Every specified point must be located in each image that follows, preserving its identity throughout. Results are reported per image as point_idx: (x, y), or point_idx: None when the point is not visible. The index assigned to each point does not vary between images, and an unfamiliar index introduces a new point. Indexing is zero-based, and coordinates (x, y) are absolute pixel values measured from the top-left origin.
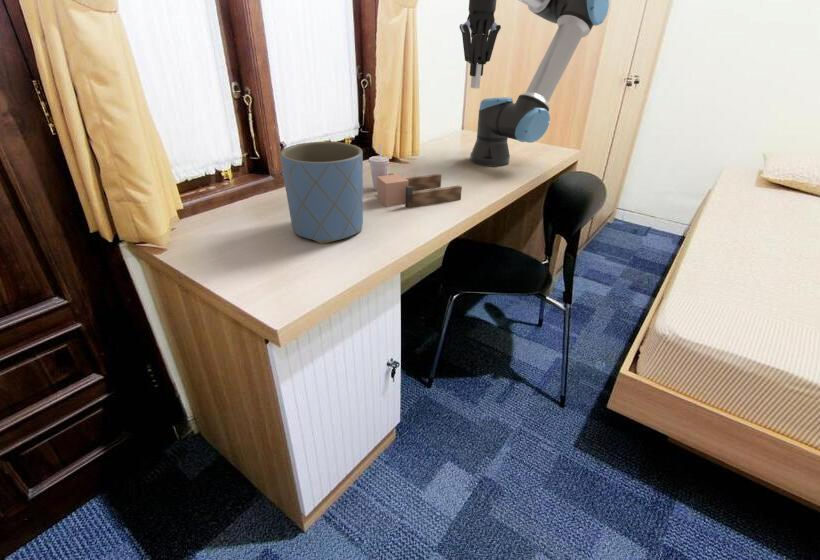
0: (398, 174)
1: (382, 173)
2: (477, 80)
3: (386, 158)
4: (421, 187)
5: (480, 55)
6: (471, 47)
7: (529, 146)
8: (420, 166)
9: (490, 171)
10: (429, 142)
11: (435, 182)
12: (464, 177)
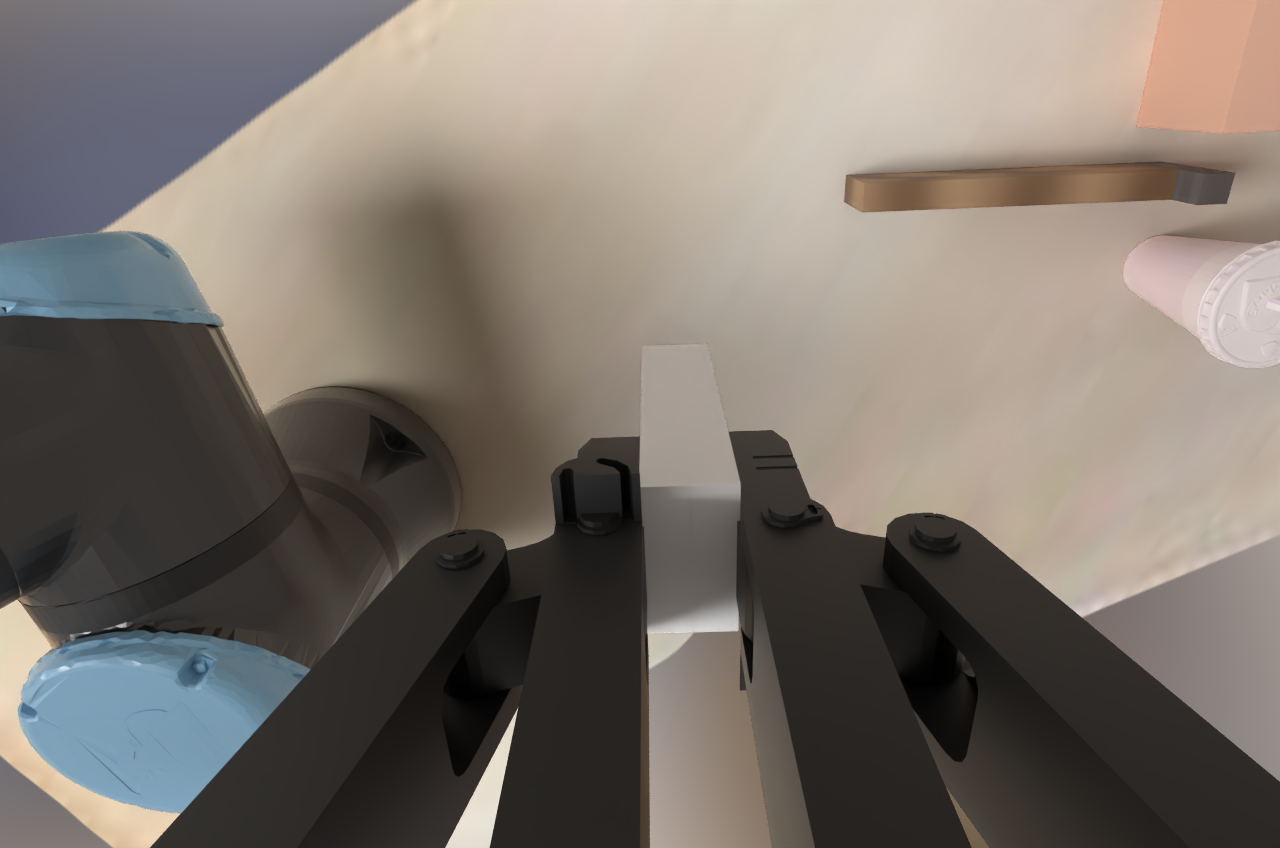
0: (1231, 118)
1: (1232, 242)
2: (689, 380)
3: (1227, 304)
4: (974, 170)
5: (644, 651)
6: (1077, 728)
7: (7, 639)
8: None
9: (435, 324)
10: None
11: (890, 177)
12: (632, 279)
